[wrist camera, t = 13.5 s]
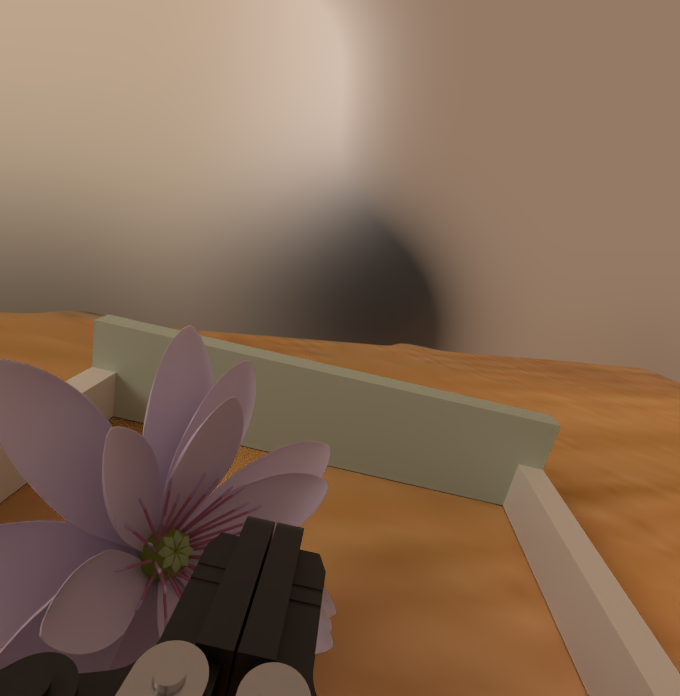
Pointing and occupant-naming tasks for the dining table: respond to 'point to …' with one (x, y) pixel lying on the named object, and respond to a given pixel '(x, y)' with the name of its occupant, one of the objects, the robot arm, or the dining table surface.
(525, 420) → the grey u-shaped frame
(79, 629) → the water lily
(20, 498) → the dining table surface
